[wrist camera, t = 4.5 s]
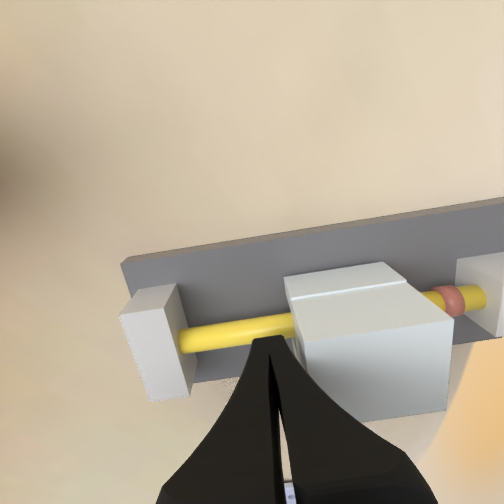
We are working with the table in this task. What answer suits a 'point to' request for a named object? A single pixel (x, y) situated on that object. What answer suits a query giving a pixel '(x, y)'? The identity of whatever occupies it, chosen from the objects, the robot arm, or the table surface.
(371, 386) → the sliding block
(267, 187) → the table surface
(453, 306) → the slider rail base
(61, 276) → the table surface
